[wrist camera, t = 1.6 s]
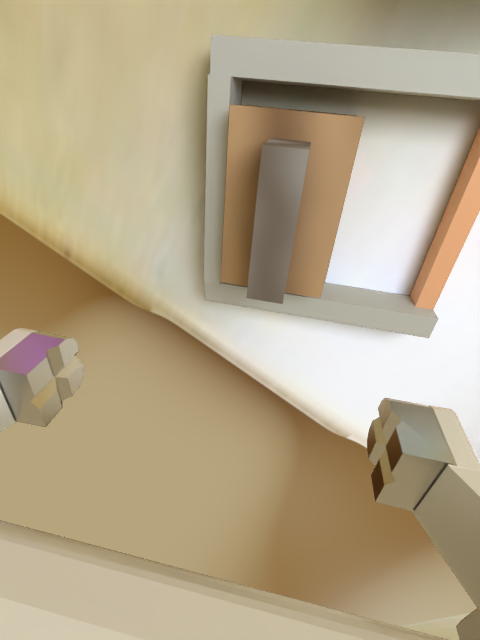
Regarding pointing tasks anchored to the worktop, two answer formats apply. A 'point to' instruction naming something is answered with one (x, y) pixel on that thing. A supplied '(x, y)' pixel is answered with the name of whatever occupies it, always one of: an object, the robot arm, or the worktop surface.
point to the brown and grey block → (284, 197)
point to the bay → (355, 74)
